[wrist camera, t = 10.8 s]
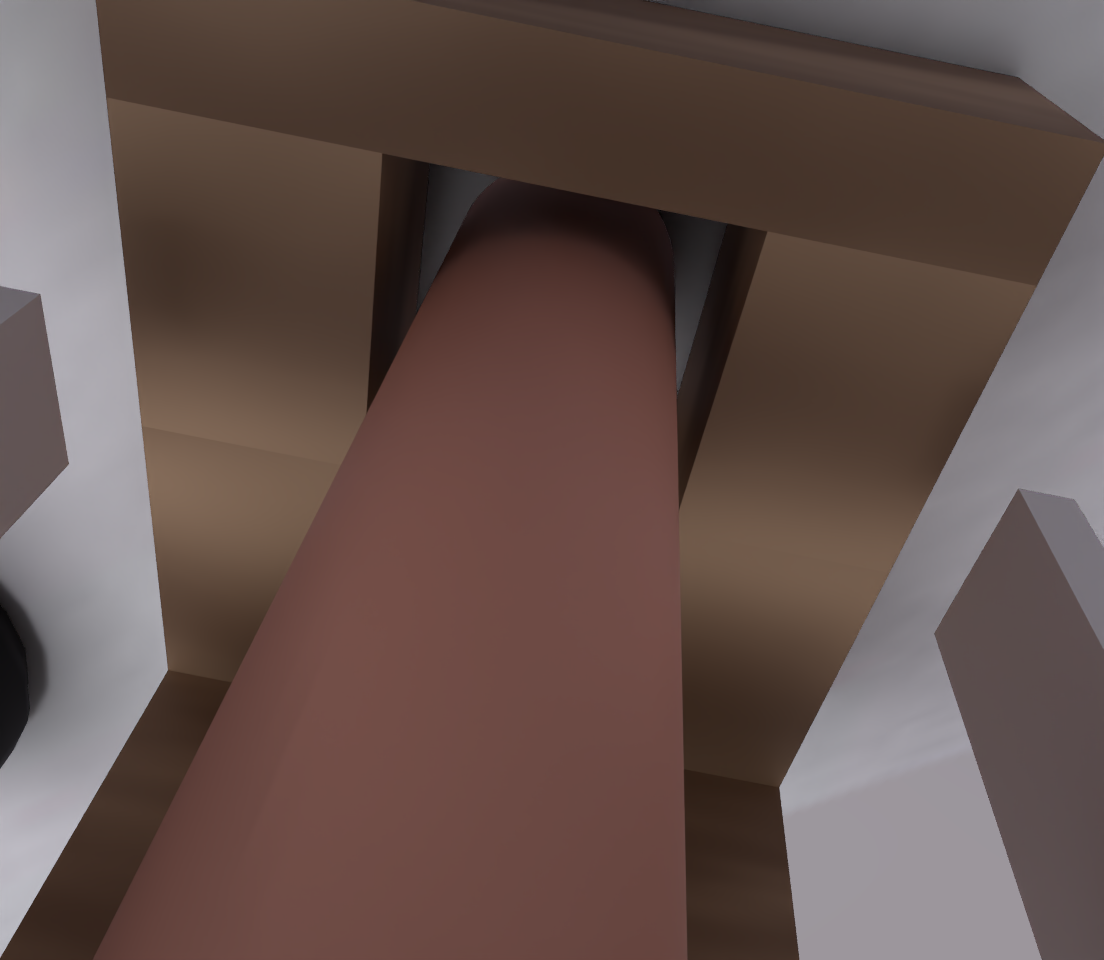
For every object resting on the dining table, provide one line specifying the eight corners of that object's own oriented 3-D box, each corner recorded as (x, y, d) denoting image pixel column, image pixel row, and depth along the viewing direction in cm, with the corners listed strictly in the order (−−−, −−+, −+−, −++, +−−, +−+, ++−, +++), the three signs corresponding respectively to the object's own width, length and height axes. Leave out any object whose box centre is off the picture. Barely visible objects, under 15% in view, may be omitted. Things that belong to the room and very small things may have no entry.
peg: (468, 137, 17) (-110, 1073, 4) (699, 184, 18) (796, 1239, 5) (445, 345, 20) (36, 1322, 7) (646, 384, 20) (611, 1423, 7)
